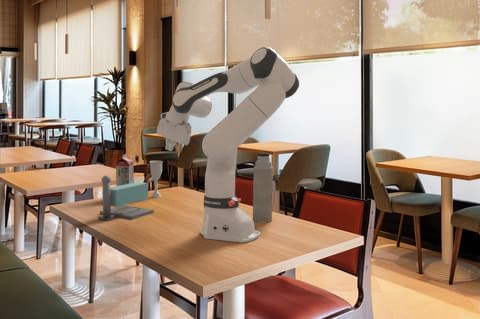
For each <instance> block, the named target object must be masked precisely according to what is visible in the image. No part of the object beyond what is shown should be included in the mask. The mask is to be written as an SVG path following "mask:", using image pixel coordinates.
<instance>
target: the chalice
mask: <svg viewBox="0 0 480 319" xmlns="http://www.w3.org/2000/svg"><path fill="white" fill-rule="evenodd" d="M163 162H164V161H163V160H150V161H149V165H150V174H151V177H152V179H153V180H155V183H154V185H155V187H154V189H155V191H153V192H152V194H151V198H155V199H157V198H162V195H161V193H160V191H158V188H159V187H158V180H160V178H161V175H162V172H163Z"/></svg>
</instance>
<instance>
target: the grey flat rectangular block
mask: <svg viewBox="0 0 480 319" xmlns="http://www.w3.org/2000/svg"><path fill="white" fill-rule="evenodd" d="M154 211H155V210H154V209H148V208H143V207H137V206H131V205H126V204H125V205H122V206H118V207H114V206H112V207H111V215H115V216H116V218H122V219H129V220H135V219H137V218H141V217H144V216H148V215H150V214H151V215H152V214H154V213H155V212H154ZM99 215H103V209H102V210H100V211H99Z"/></svg>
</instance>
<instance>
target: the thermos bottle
mask: <svg viewBox="0 0 480 319" xmlns="http://www.w3.org/2000/svg"><path fill="white" fill-rule="evenodd" d="M270 155H271V154H270V153H267V152H259V153H257V160H256V161H255V164H254V165H255V166H253V180H252V181H253V183H252V184H253V188H252V190H253V192H252V200H253V201H252V219H253V222H256V223H270V222H272V220H273V190H274V189H273V188H274V186H273V185H274V183H273V182H274V167H273V166H272V165H273V163H272V161H271V160H270Z"/></svg>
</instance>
